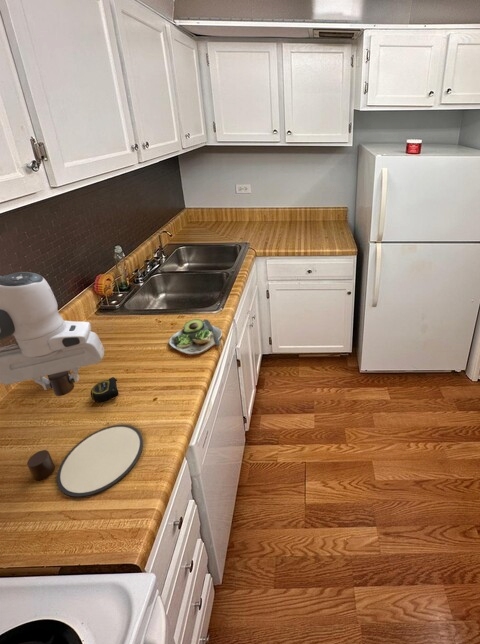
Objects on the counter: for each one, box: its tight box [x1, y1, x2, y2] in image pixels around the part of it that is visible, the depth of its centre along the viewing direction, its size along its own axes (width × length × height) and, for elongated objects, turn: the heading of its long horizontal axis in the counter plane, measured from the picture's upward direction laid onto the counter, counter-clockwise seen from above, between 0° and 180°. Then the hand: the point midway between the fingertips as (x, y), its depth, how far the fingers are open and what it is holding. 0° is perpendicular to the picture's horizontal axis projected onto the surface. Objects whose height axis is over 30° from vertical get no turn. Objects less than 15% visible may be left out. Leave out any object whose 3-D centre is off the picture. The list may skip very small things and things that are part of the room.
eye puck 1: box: [26, 449, 56, 482], centre depth 77 cm, size 4×4×5 cm
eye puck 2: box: [47, 370, 75, 397], centre depth 81 cm, size 4×4×5 cm
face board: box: [56, 424, 144, 499], centre depth 81 cm, size 18×18×1 cm
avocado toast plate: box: [168, 318, 223, 355], centre depth 122 cm, size 19×18×5 cm
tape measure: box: [90, 377, 120, 404], centre depth 98 cm, size 7×7×4 cm
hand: (62, 384), depth 81 cm, fingers closed on eye puck 2, 4 cm apart
